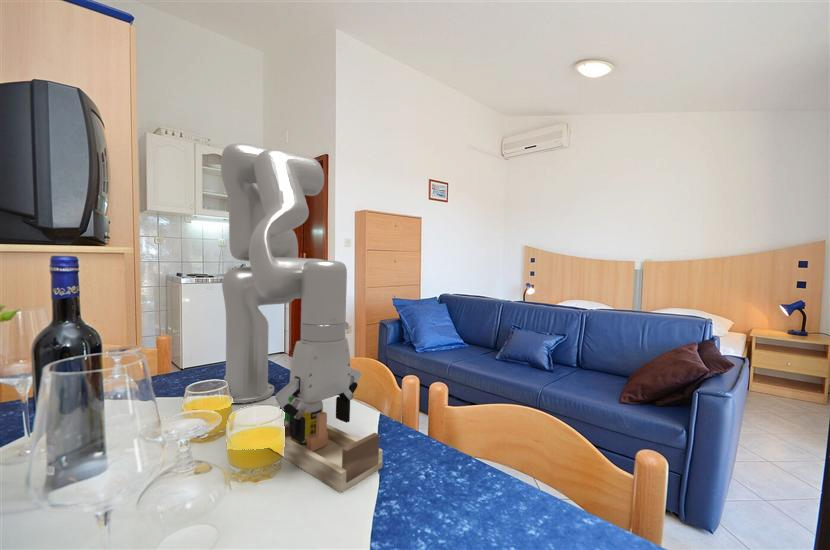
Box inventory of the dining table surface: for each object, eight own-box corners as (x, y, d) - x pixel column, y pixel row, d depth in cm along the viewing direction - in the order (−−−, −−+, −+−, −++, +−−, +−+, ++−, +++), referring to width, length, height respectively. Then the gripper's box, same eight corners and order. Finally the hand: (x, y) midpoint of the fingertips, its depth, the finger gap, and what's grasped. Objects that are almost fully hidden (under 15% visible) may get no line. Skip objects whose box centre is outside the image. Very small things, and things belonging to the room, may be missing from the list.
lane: (267, 447, 68) (267, 415, 67) (308, 430, 75) (309, 401, 75) (340, 492, 55) (341, 453, 55) (382, 467, 63) (383, 432, 62)
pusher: (306, 449, 65) (307, 414, 65) (323, 442, 68) (324, 408, 67) (313, 453, 64) (314, 418, 63) (330, 445, 67) (331, 411, 66)
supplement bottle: (312, 451, 65) (313, 396, 64) (285, 446, 66) (285, 392, 66) (327, 437, 70) (328, 386, 70) (301, 433, 72) (302, 382, 71)
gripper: (346, 323, 74) (344, 408, 74) (264, 336, 60) (263, 440, 61) (374, 328, 69) (371, 419, 70) (292, 343, 55) (290, 456, 56)
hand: (321, 429), depth 65 cm, fingers open, 9 cm apart
